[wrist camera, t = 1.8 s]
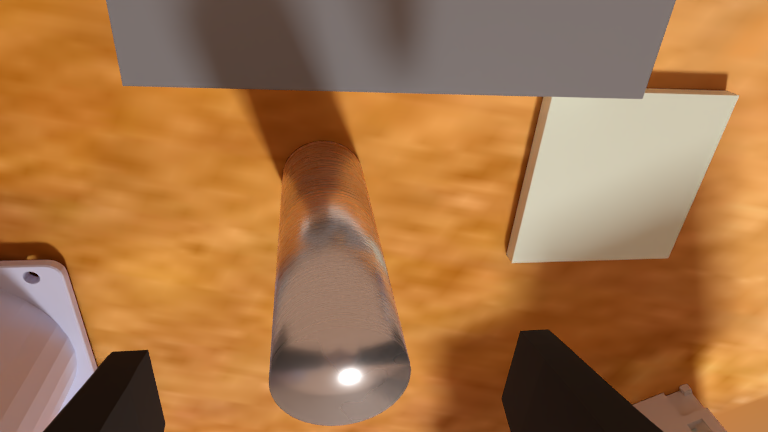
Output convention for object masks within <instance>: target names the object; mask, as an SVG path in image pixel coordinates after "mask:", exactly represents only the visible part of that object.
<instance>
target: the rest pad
mask: <svg viewBox="0 0 768 432" xmlns="http://www.w3.org/2000/svg"><path fill="white" fill-rule="evenodd" d="M738 97H739V95H736V94H734V93H731V92H729V91H723V90H689V89H656V88H646V90H645V93H644V96H643V99H618V98H579V97H543V100H542V105H541V109H540V113H539V117H538V122H537V126H536V130H535V134H534V139H533V143H532V147H531V152H530V156H529V160H528V164H527V169H526V173H525V177H524V181H523V186H522V190H521V194H520V198H519V203H518V207H517V211H516V215H515V220H514V224H513V228H512V233H511V237H510V241H509V245H508V250H507V254H506V255H507V256H508V258H509V260H510V261H511V263H531V262H563V261H596V260H629V259H661V258H669V255H670V253H671V251H672V249H673V246H674V244H675V242H676V239H677V237H678V235H679V232H680V230H681V228H682V226H683V223H684V221H685V219H686V216H687V214H688V212H689V210H690V207H691V205H692V203H693V200H694V198H695V196H696V194H697V191H698V189H699V187H700V184H701V182H702V180H703V177H704V175H705V173H706V171H707V168H708V166H709V164H710V161H711V159H712V157H713V155H714V152H715V150H716V148H717V145H718V143H719V141H720V139H721V136H722V134H723V132H724V129H725V127H726V125H727V122H728V120H729V118H730V116H731V113H732V111H733V109H734V106H735V104H736V102H737V100H738Z"/></svg>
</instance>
